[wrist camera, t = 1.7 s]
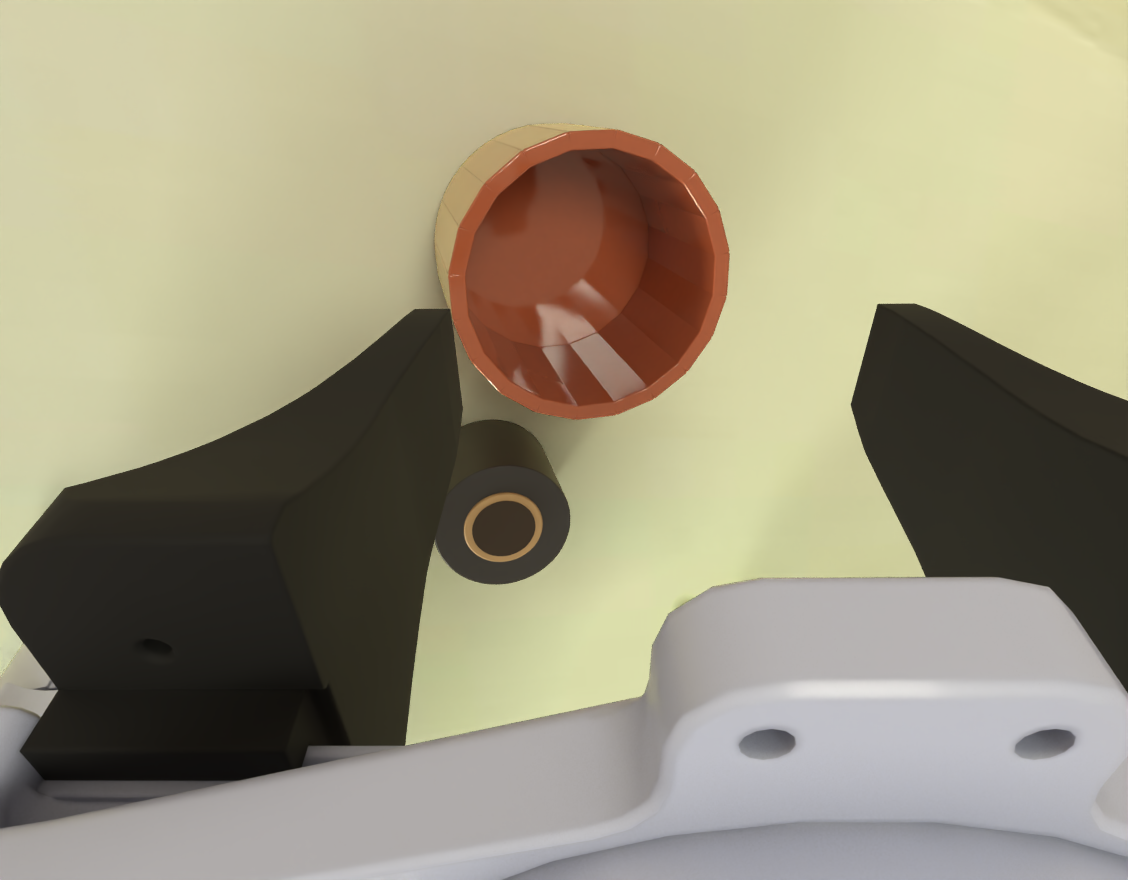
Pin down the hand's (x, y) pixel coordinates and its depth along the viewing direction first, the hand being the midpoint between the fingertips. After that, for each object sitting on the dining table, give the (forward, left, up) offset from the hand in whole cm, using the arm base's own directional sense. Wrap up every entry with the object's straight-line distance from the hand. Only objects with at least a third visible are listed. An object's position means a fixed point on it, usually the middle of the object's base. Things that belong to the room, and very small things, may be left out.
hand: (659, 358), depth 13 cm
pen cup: (-1, -1, -17) cm, 17 cm away
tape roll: (-11, +2, -17) cm, 20 cm away
